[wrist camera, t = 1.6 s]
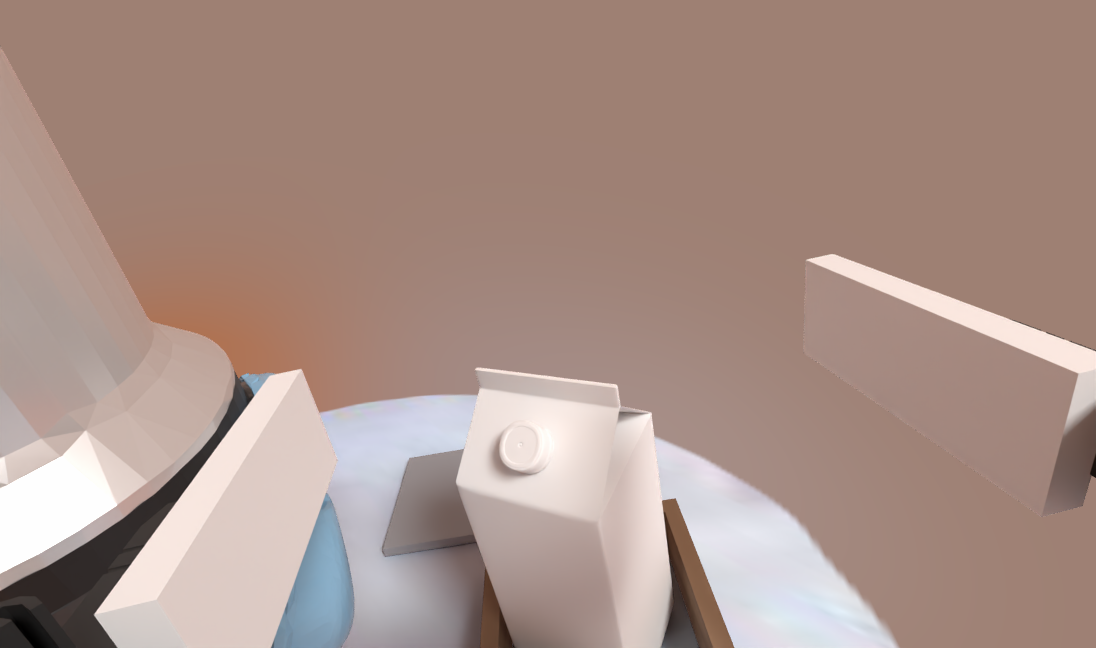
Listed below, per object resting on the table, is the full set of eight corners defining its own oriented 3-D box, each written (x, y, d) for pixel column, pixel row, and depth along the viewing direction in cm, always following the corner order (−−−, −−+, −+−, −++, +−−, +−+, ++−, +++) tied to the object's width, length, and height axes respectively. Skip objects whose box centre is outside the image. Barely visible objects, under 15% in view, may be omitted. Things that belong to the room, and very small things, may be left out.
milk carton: (572, 571, 36) (512, 331, 27) (675, 604, 33) (643, 341, 24) (522, 673, 31) (428, 414, 22) (639, 725, 27) (581, 443, 19)
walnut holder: (491, 790, 26) (473, 742, 24) (499, 570, 38) (487, 528, 36) (754, 749, 26) (754, 698, 24) (678, 541, 37) (675, 498, 36)
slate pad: (385, 556, 40) (382, 549, 40) (411, 464, 51) (409, 458, 50) (526, 534, 40) (524, 526, 40) (524, 446, 50) (522, 439, 50)
